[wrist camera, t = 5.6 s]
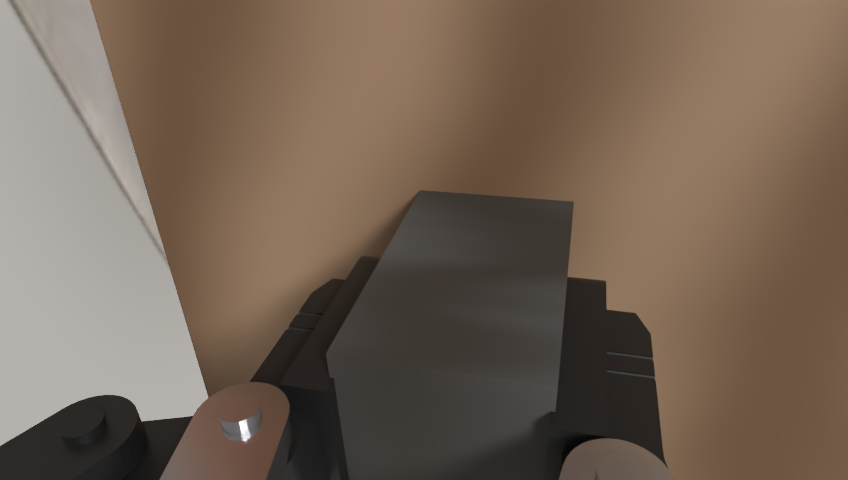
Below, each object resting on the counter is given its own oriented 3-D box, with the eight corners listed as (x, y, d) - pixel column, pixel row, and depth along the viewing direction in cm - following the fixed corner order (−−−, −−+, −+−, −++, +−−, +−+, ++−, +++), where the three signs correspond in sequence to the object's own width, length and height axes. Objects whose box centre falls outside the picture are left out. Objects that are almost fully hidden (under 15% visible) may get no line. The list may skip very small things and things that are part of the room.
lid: (1171, -267, 7) (2254, -536, 3) (805, 540, 15) (897, 842, 11) (70, -178, 11) (-344, -219, 6) (239, 436, 19) (117, 626, 14)
